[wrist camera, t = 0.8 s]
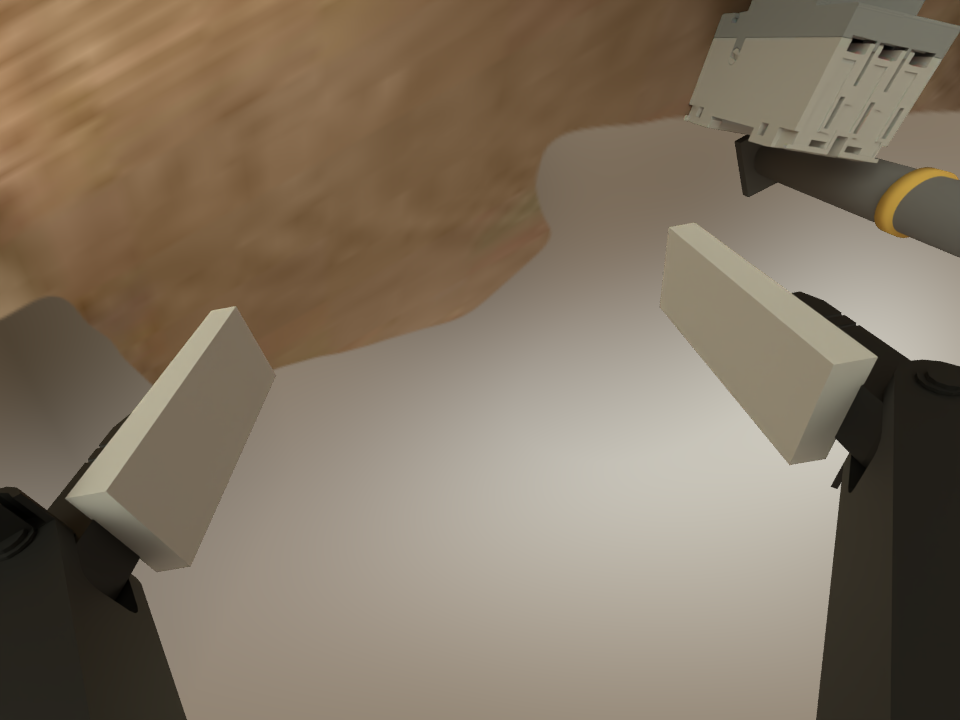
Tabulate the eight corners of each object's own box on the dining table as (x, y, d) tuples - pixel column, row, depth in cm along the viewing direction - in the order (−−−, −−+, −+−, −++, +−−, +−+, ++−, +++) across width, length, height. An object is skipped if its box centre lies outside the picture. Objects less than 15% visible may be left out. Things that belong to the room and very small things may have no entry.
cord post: (734, 141, 44) (971, 221, 25) (796, 107, 43) (1098, 164, 23) (742, 194, 47) (958, 301, 28) (800, 165, 46) (1067, 256, 27)
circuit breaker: (840, -64, 35) (1053, -116, 23) (751, 131, 44) (874, 167, 31) (759, -85, 34) (938, -153, 22) (683, 120, 42) (783, 152, 30)
